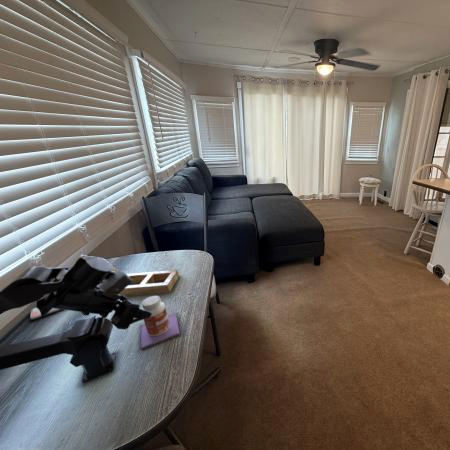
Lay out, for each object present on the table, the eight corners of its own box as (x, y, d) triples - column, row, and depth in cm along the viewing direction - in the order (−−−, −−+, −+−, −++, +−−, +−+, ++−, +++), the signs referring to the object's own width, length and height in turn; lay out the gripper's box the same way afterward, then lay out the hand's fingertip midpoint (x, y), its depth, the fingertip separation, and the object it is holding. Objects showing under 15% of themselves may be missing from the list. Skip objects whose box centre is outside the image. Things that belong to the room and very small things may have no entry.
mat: (179, 334, 74) (179, 332, 74) (141, 348, 69) (141, 347, 69) (175, 315, 82) (175, 313, 82) (141, 327, 77) (141, 325, 77)
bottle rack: (169, 292, 94) (167, 284, 93) (113, 297, 92) (111, 289, 91) (179, 276, 104) (177, 269, 103) (129, 280, 102) (127, 273, 101)
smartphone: (30, 308, 85) (85, 290, 95) (32, 311, 85) (86, 292, 95) (29, 318, 80) (87, 298, 90) (30, 321, 80) (88, 300, 90)
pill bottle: (161, 338, 72) (152, 308, 68) (143, 336, 73) (133, 306, 69) (174, 323, 78) (167, 294, 74) (157, 321, 78) (149, 293, 75)
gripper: (119, 279, 55) (175, 293, 68) (89, 258, 65) (143, 274, 78) (89, 327, 52) (153, 332, 64) (62, 298, 62) (122, 308, 74)
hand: (143, 309), depth 70 cm, fingers open, 9 cm apart
